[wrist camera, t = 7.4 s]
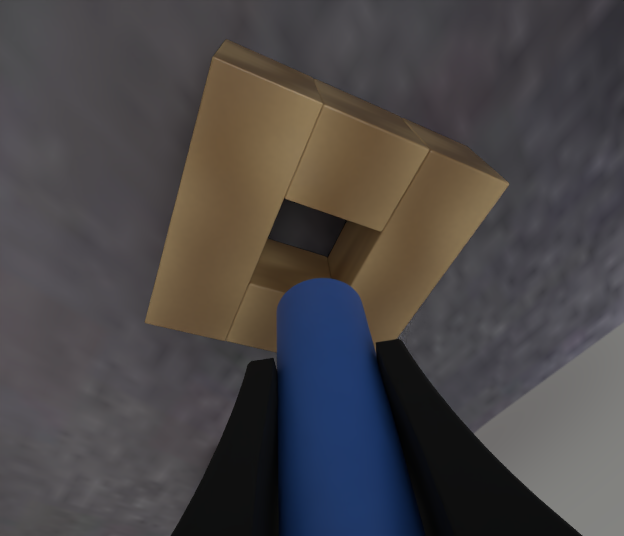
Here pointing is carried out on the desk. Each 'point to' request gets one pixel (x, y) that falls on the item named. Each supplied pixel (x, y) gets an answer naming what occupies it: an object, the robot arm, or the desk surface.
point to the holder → (309, 203)
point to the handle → (336, 422)
